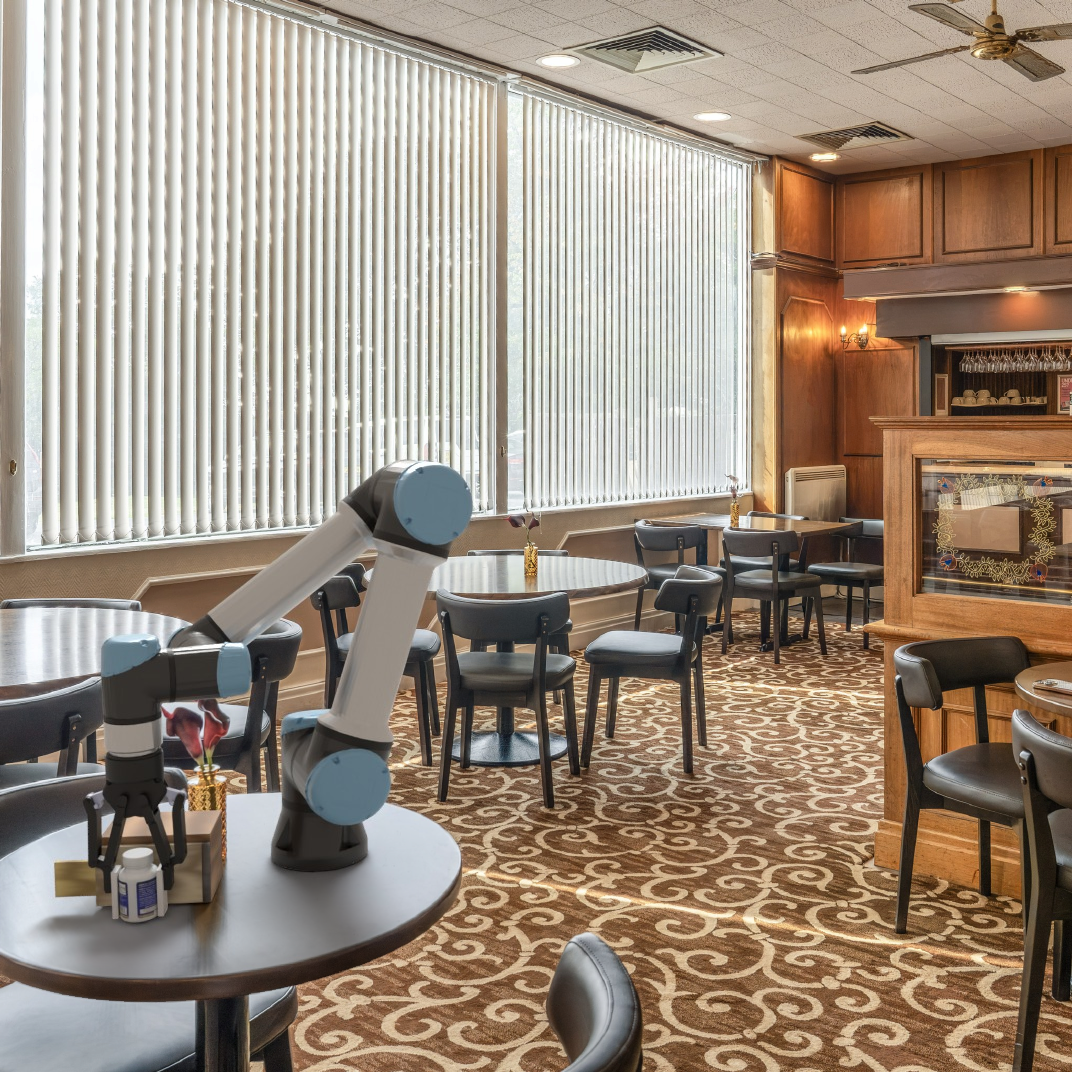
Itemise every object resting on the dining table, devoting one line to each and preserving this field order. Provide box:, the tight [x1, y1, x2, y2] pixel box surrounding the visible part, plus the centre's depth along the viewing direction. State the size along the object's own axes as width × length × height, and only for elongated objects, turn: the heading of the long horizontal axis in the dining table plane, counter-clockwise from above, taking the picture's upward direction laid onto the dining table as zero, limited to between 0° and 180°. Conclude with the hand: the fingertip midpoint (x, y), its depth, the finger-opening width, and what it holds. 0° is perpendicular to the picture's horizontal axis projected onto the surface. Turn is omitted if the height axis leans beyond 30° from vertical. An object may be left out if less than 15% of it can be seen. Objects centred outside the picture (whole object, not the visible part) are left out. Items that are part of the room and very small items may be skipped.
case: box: [102, 809, 224, 903], centre depth 164 cm, size 15×10×10 cm
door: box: [53, 841, 212, 907], centre depth 158 cm, size 21×1×8 cm, turn 97°
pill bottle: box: [118, 848, 158, 923], centre depth 154 cm, size 5×5×9 cm
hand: (140, 912), depth 155 cm, fingers closed on pill bottle, 5 cm apart
